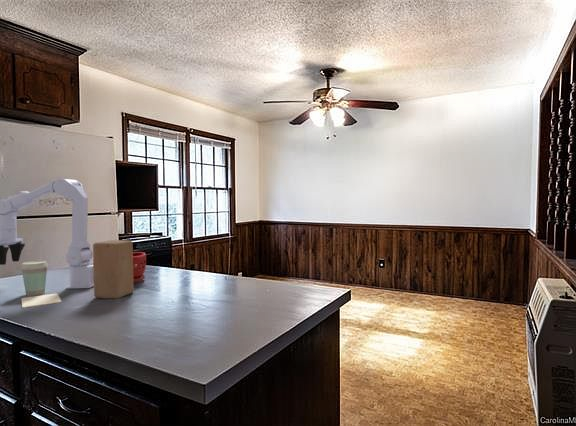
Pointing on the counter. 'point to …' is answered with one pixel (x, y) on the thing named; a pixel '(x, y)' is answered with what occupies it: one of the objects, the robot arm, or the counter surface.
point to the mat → (40, 300)
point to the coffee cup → (34, 277)
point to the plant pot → (138, 266)
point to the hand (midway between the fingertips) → (9, 262)
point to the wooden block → (113, 268)
